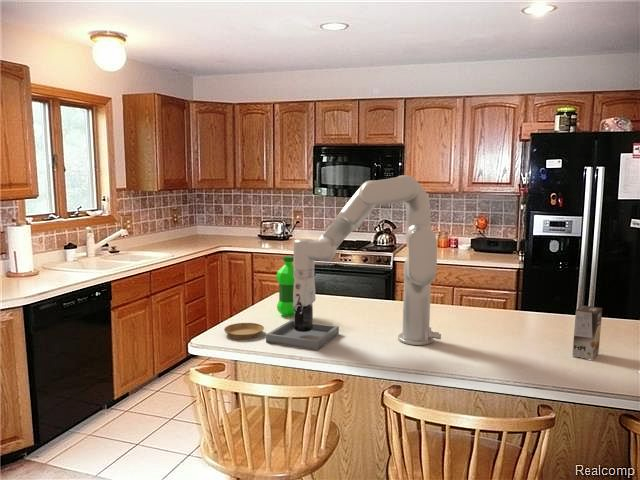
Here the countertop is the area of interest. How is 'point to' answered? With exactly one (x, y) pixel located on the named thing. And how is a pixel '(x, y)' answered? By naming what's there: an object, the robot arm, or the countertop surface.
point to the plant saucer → (244, 330)
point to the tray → (302, 336)
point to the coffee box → (587, 332)
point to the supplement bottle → (305, 319)
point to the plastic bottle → (286, 287)
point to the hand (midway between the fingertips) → (303, 321)
